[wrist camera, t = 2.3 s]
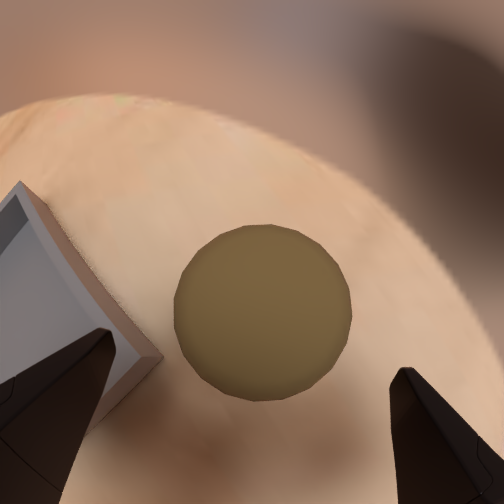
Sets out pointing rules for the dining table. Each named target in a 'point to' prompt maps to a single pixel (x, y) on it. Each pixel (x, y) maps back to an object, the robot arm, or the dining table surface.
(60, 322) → the grey bin
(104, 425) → the dining table surface
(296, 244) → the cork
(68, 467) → the robot arm
